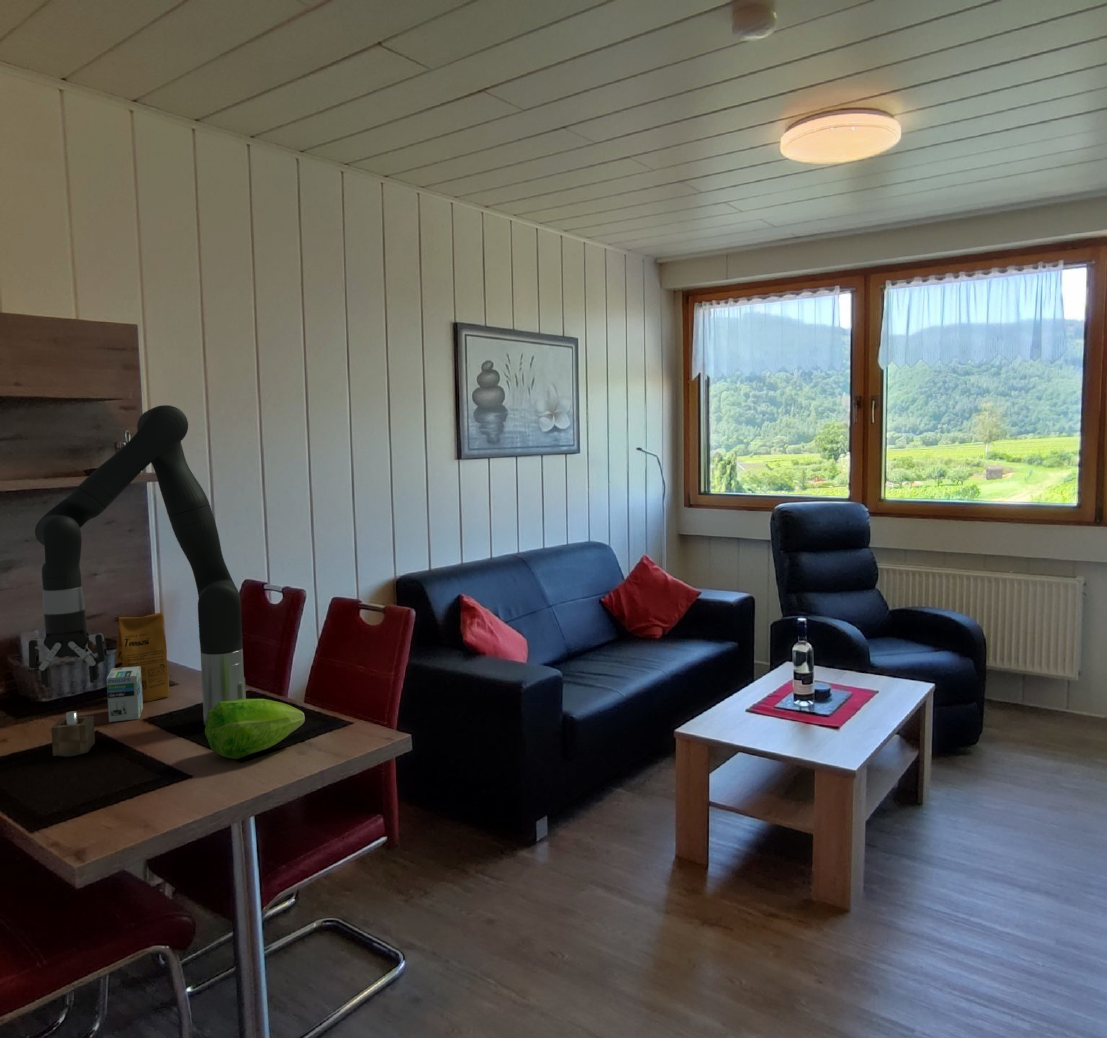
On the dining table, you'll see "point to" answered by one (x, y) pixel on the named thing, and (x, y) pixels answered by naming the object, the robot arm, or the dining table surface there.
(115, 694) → the light bulb box
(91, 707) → the dining table surface
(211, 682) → the robot arm
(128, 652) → the coffee package
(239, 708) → the lettuce
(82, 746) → the collar
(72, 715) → the post
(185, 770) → the dining table surface
